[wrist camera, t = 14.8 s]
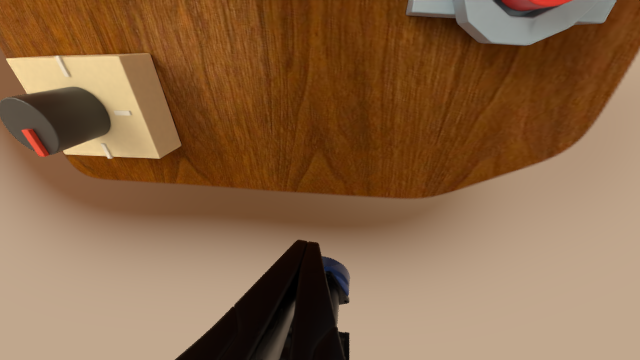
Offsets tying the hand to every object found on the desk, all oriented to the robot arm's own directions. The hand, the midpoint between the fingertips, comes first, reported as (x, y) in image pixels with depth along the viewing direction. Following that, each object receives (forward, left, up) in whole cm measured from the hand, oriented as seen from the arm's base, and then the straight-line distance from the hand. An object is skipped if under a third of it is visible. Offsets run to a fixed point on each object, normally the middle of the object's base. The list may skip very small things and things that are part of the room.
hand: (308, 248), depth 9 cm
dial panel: (+11, +17, -13) cm, 24 cm away
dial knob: (+11, +17, -10) cm, 23 cm away
